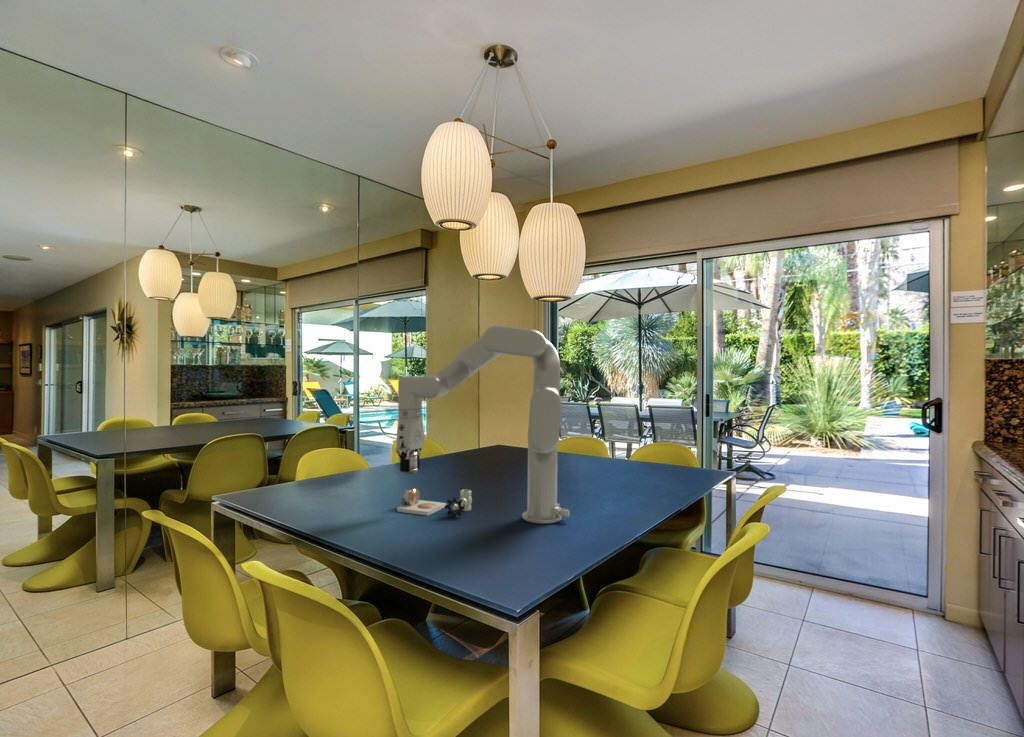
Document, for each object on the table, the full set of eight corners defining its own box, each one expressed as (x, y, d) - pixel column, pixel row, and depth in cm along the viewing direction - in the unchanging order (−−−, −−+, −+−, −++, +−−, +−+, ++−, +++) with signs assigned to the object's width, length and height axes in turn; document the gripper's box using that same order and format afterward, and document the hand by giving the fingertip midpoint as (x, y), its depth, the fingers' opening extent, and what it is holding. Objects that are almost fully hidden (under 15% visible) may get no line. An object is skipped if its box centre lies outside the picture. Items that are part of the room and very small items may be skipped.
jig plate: (446, 506, 174) (446, 502, 174) (427, 515, 163) (428, 511, 163) (416, 503, 178) (416, 499, 178) (396, 511, 167) (396, 507, 167)
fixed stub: (419, 506, 174) (419, 487, 174) (409, 510, 169) (410, 490, 169) (410, 504, 176) (410, 486, 176) (400, 509, 170) (400, 489, 170)
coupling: (420, 470, 164) (420, 451, 165) (412, 473, 160) (412, 453, 160) (407, 469, 166) (407, 450, 166) (398, 472, 161) (398, 452, 161)
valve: (459, 507, 173) (444, 517, 162) (459, 488, 173) (444, 496, 162) (476, 509, 171) (463, 518, 160) (477, 490, 171) (463, 498, 160)
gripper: (405, 416, 154) (405, 475, 154) (433, 412, 170) (433, 466, 170) (384, 415, 156) (384, 474, 156) (413, 412, 172) (413, 464, 172)
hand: (410, 469), depth 163 cm, fingers closed on coupling, 5 cm apart
